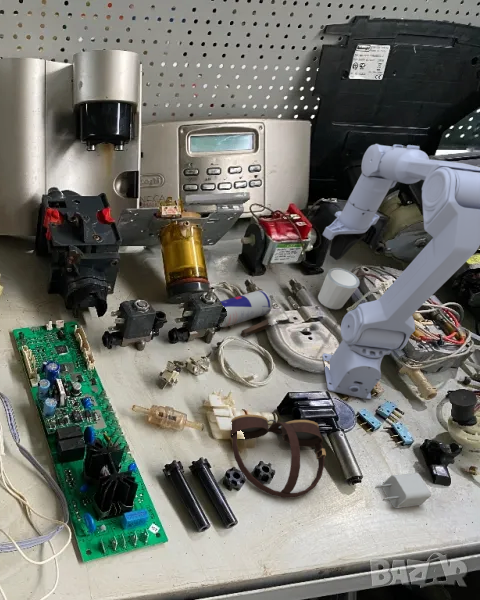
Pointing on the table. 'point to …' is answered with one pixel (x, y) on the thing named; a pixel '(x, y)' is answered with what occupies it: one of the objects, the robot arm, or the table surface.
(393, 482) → the usb wall charger
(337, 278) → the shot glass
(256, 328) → the cradle
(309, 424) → the goggles
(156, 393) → the table surface
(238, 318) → the energy drink
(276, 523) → the table surface
